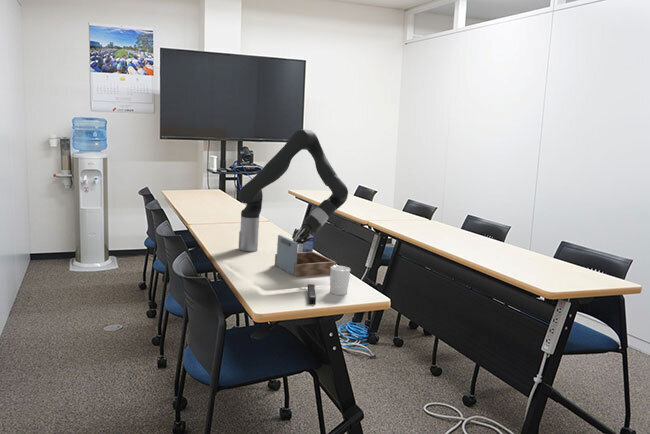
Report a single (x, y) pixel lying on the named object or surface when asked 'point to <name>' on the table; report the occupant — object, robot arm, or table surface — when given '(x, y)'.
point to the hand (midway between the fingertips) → (289, 248)
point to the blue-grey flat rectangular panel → (286, 254)
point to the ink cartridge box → (306, 246)
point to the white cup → (339, 279)
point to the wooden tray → (311, 264)
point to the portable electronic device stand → (311, 294)
